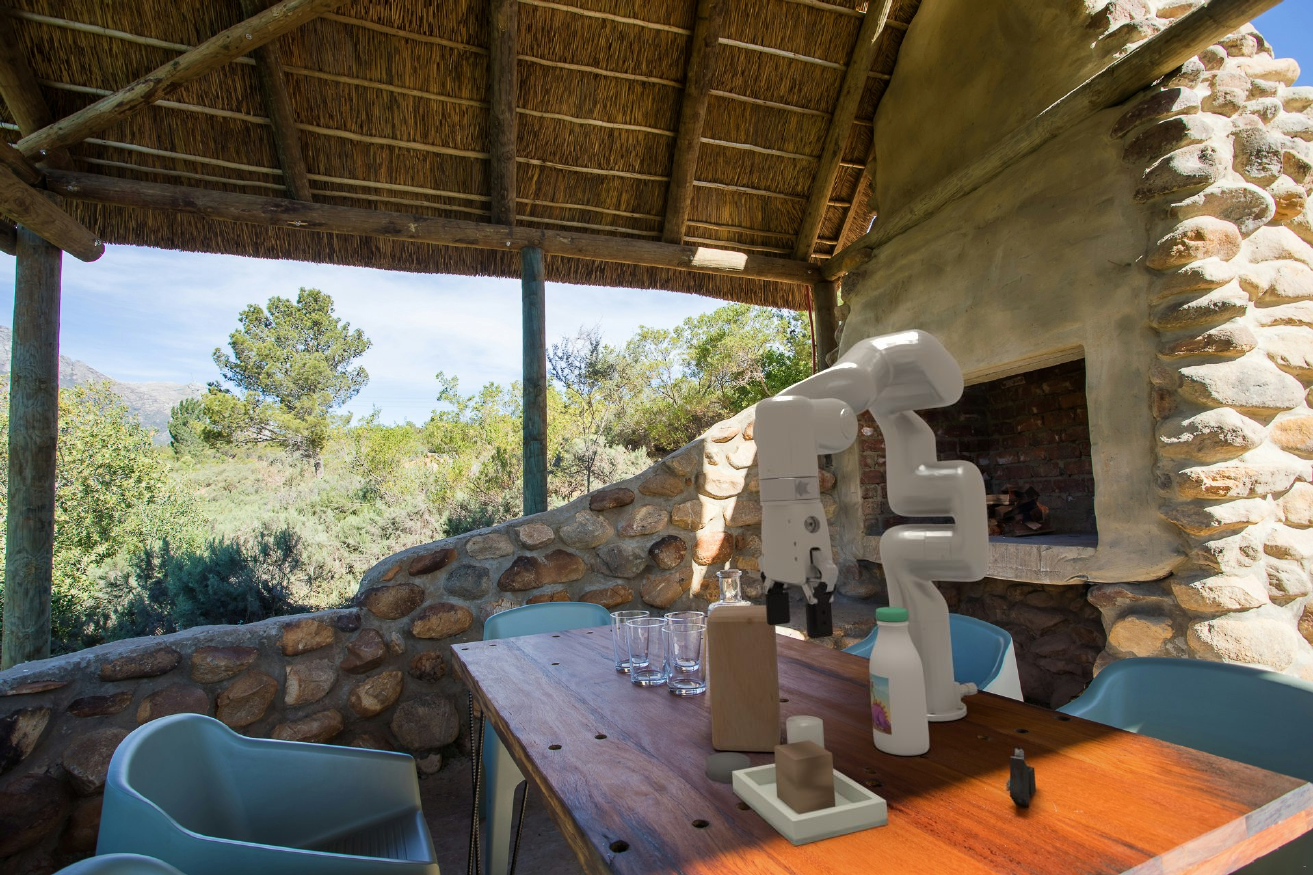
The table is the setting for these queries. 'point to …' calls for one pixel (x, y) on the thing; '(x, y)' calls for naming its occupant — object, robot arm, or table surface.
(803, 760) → the walnut block
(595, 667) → the table surface
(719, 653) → the wooden block
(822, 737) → the white rounded cylinder
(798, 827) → the tray
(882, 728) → the milk bottle
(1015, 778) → the lighter
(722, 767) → the gray rounded object
